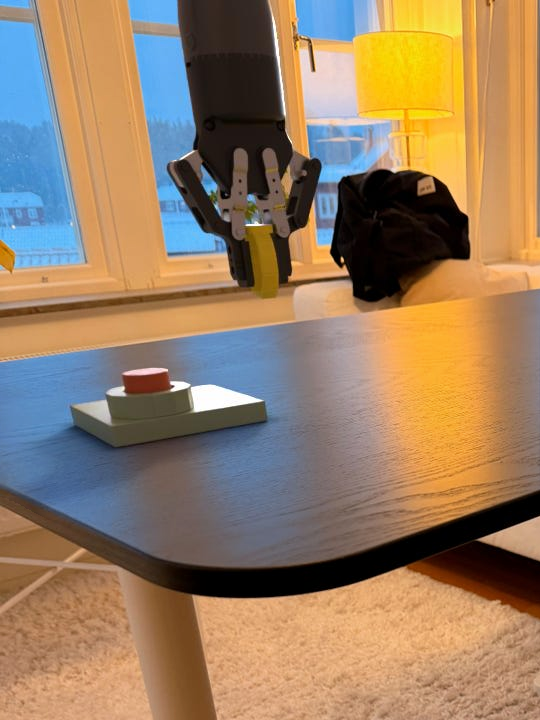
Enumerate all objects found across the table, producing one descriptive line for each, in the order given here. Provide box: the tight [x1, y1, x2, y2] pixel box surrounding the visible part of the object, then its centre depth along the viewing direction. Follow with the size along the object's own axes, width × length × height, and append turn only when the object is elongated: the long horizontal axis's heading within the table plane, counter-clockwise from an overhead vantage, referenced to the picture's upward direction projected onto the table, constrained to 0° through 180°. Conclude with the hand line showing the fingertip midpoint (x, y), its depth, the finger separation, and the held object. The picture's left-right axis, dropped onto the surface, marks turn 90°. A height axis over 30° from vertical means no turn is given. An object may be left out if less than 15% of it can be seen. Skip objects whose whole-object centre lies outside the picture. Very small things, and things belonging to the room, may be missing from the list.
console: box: [69, 380, 268, 448], centre depth 76 cm, size 13×12×4 cm
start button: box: [121, 367, 172, 394], centre depth 72 cm, size 4×4×2 cm
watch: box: [245, 223, 280, 300], centre depth 78 cm, size 6×3×6 cm, turn 27°
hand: (263, 284), depth 79 cm, fingers closed on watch, 2 cm apart
